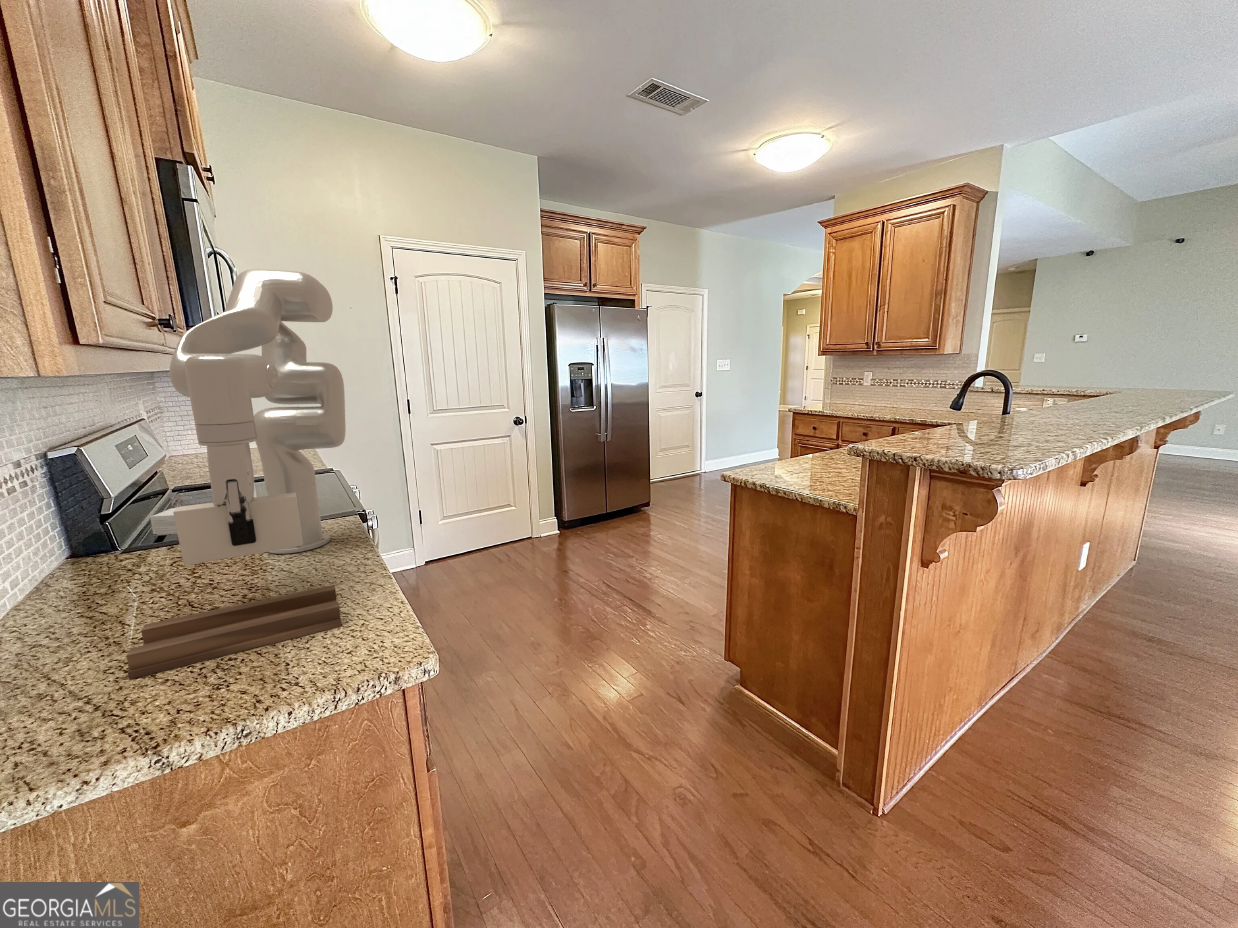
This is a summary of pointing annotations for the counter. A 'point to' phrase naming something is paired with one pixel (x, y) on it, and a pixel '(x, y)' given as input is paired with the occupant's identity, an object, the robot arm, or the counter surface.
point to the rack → (232, 630)
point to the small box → (164, 523)
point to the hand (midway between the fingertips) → (245, 539)
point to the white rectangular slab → (210, 534)
